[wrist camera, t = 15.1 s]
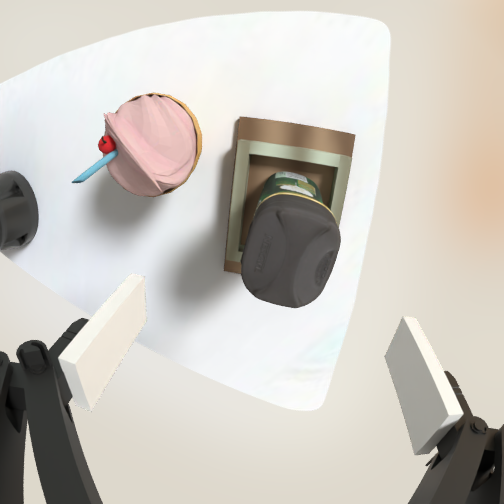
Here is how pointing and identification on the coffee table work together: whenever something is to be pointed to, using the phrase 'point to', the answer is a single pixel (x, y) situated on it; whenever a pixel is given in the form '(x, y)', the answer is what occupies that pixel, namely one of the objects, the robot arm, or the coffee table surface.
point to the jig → (283, 170)
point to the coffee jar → (290, 242)
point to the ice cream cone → (149, 145)
